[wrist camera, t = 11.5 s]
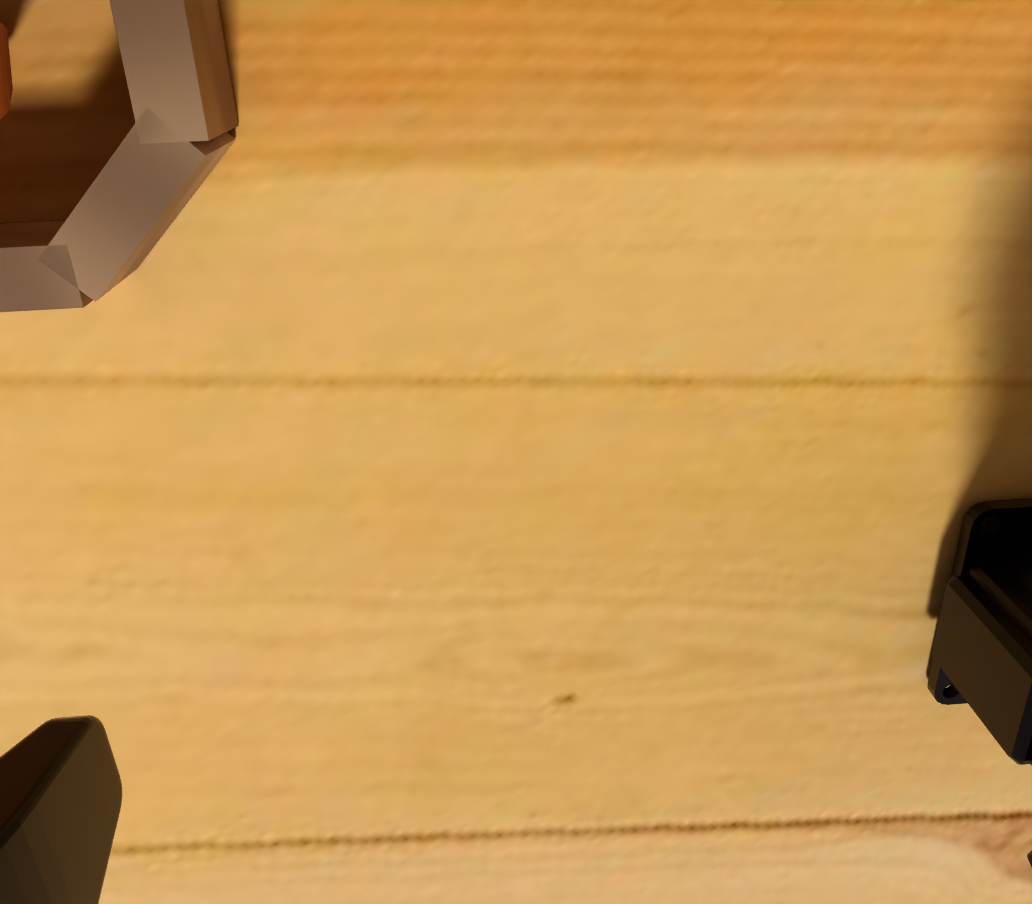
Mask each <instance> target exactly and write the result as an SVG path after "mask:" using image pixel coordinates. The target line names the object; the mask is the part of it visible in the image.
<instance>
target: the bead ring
mask: <svg viewBox="0 0 1032 904" xmlns="http://www.w3.org/2000/svg"><path fill="white" fill-rule="evenodd" d="M110 5H111V9H112V14H113V19H114V24H115V28H116V33H117V38H118V42H119V47H120V52H121V56H122V61H123V66H124V71H125V75H126V80H127V85H128V89H129V94H130V99H131V104H132V108H133V113H134V118H135V122H136V123H135V124H134V126H133V127H132V129H131V130H130V131H129V133H128V134H127V136H126V137H125V138H124V140H123V141H122V143H121V144H120V145H119V147H118V148H117V150H116V151H115V152H114V154H113V155H112V157H111V158H110V159H109V161H108V162H107V164H106V165H105V166H104V168H103V169H102V171H101V172H100V173H99V175H98V176H97V178H96V179H95V180H94V182H93V183H92V185H91V186H90V187H89V189H88V190H87V192H86V193H85V194H84V196H83V197H82V199H81V200H80V201H79V203H78V204H77V206H76V207H75V208H74V210H73V211H72V213H71V214H70V215H69V217H68V218H67V220H59V221H38V222H18V223H0V312H11V311H29V310H48V309H67V308H84V307H85V306H86V305H87V304H89V303H90V302H91V301H92V300H94V301H95V302H96V301H97V300H98V299H99V298H101V297H102V296H103V295H105V294H106V293H107V292H108V291H110V290H111V289H112V288H113V287H115V286H116V285H117V284H118V283H120V282H121V281H122V280H123V279H125V278H126V277H127V276H129V275H130V274H131V273H132V272H134V271H135V270H136V269H137V268H138V267H139V265H140V264H141V263H142V262H143V260H144V259H145V258H146V256H147V255H148V254H149V252H150V251H151V250H152V248H153V247H154V246H155V244H156V243H157V242H158V241H159V239H160V238H161V237H162V235H163V234H164V233H165V231H166V230H167V229H168V227H169V226H170V225H171V223H172V222H173V221H174V219H175V218H176V217H177V216H178V214H179V213H180V212H181V210H182V209H183V208H184V206H185V205H186V204H187V202H188V201H189V200H190V198H191V197H192V196H193V194H194V193H195V192H196V191H197V189H198V188H199V187H200V185H201V184H202V183H203V181H204V180H205V179H206V177H207V176H208V175H209V173H210V172H211V171H212V170H213V168H214V167H215V166H216V164H217V163H218V162H219V160H220V159H221V158H222V156H223V155H224V154H225V152H226V151H227V150H228V148H229V147H230V146H231V145H232V143H233V142H234V141H235V138H234V137H232V136H231V135H230V134H229V133H228V132H227V131H229V130H231V129H233V128H235V127H237V126H238V120H237V114H236V107H235V101H234V95H233V89H232V83H231V77H230V71H229V65H228V59H227V53H226V47H225V40H224V34H223V28H222V22H221V16H220V10H219V4H218V0H110Z"/></svg>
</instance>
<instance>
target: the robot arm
mask: <svg viewBox="0 0 1032 904" xmlns="http://www.w3.org/2000/svg"><path fill="white" fill-rule="evenodd" d="M987 518H991V519H990V521H989V522H988V523H987V524H986V525H983V526H981V524H982V522H983V521H985V520H986V519H987ZM932 657H933V661H932V665H931V670H930V675H929V679H928V689H929V691H930V692H931V694H932V695H933V696H934V698H935V699H936V701H937V702H939V703H941V704H947V705H950V704H963V703H968V704H969V705H970V707H971V708H972V709H973V710H974V712H975V713H976V714H977V716H978V717H979V718H980V720H981V721H982V722H983V724H984V725H985V726H986V727H987V729H988V730H989V731H990V733H991V734H992V735H993V737H994V738H995V739H996V741H997V742H998V743H999V744H1000V746H1001V747H1002V748H1003V750H1004V751H1005V752H1006V754H1007V755H1008V756H1009V757H1010V758H1011V759H1013V760H1014V761H1015V762H1016V763H1017V764H1021V765H1022V764H1031V765H1032V498H1029V499H1014V500H999V501H985V502H981V503H978V504H976V505H974V506H972V507H971V508H970V509H969V510H968V511H967V512H966V514H965V516H964V519H963V523H962V527H961V532H960V536H959V541H958V546H957V550H956V555H955V559H954V564H953V569H952V573H951V578H950V580H949V582H948V583H947V585H946V588H945V593H944V598H943V602H942V607H941V612H940V616H939V621H938V626H937V630H936V635H935V639H934V644H933V649H932ZM948 685H950V686H949V687H947V686H948ZM946 687H947V688H946ZM121 802H122V784H121V779H120V775H119V772H118V769H117V766H116V763H115V759H114V756H113V753H112V750H111V747H110V744H109V741H108V737H107V734H106V731H105V728H104V726H103V724H102V722H101V721H100V720H99V719H98V718H96V717H94V716H89V715H88V716H75V717H62V718H55V719H51V720H49V721H47V722H45V723H44V724H42V725H41V726H39V727H38V728H37V729H36V730H34V731H33V732H32V733H30V734H29V735H28V736H27V737H25V738H24V739H23V740H21V741H20V742H19V743H18V744H16V745H15V746H14V747H12V748H11V749H10V750H9V751H7V752H6V753H5V754H3V755H2V756H1V757H0V904H98V903H99V899H100V894H101V890H102V886H103V882H104V877H105V873H106V869H107V864H108V860H109V856H110V852H111V847H112V843H113V839H114V834H115V830H116V826H117V822H118V817H119V813H120V808H121ZM1027 857H1028V860H1029V862H1030V864H1031V866H1032V851H1031V852H1030V853H1028V854H1027Z"/></svg>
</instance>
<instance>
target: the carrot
mask: <svg viewBox="0 0 1032 904" xmlns="http://www.w3.org/2000/svg"><path fill="white" fill-rule="evenodd" d="M12 91H13V87H12V76H11V66H10V55H9V45H8V34H7V29H6V28H5V27H4V25H3V24H2V23H1V22H0V119H1V118H2V117H3V116H4V115H5V114H6V113H7V112H8V110H9V105H10V100H11V95H12Z"/></svg>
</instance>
